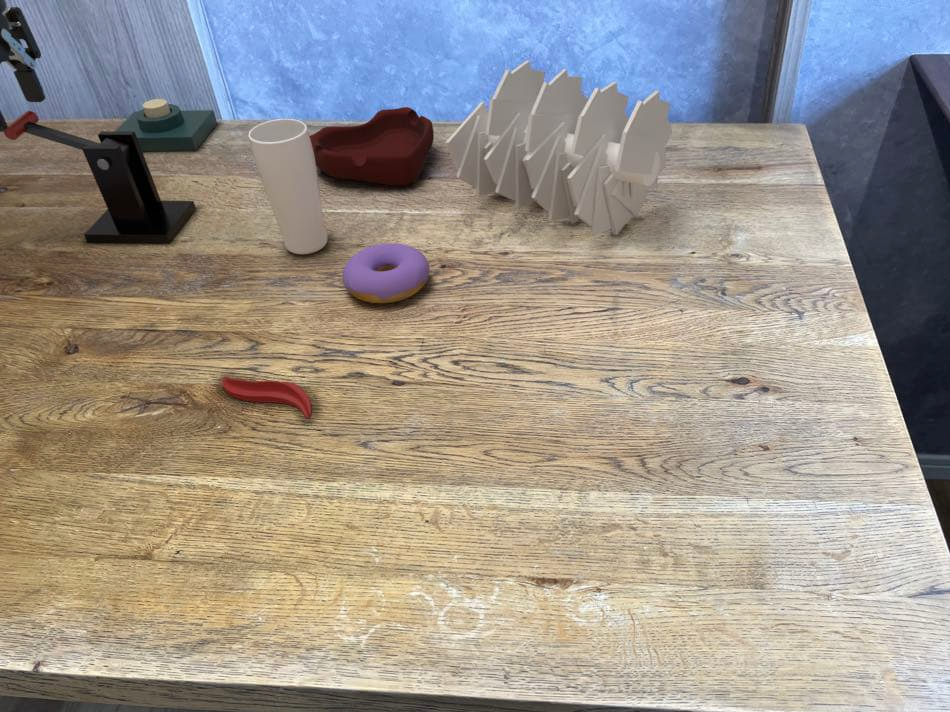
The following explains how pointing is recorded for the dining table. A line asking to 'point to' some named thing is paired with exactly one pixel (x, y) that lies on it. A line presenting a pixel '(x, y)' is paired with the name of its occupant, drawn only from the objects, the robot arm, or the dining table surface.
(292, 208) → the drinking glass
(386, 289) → the donut
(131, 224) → the bracket
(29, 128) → the lever
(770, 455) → the dining table surface
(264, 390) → the cayenne pepper
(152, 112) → the button
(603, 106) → the spiral staircase
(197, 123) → the control block
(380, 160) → the ashtray
